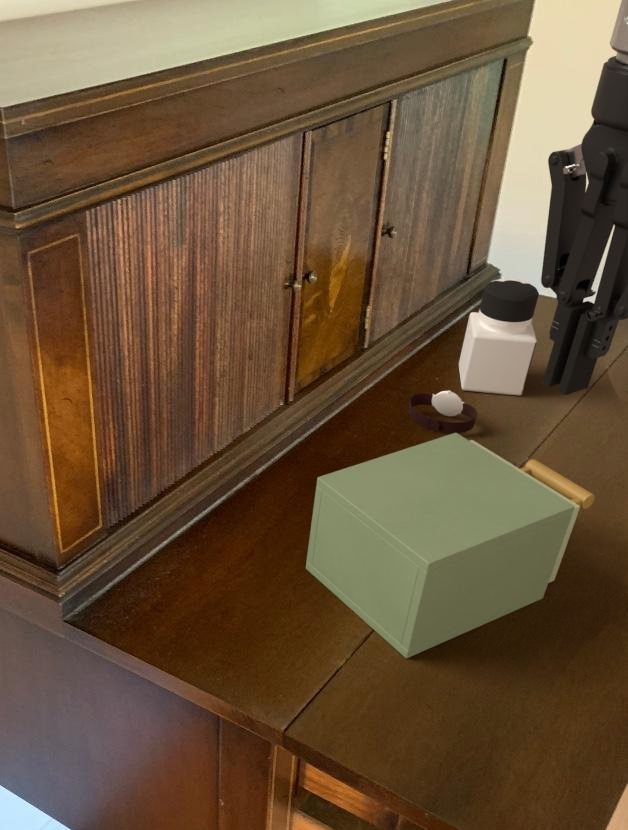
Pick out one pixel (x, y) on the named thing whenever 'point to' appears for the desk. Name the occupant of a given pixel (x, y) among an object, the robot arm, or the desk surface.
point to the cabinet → (434, 540)
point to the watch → (443, 411)
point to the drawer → (558, 487)
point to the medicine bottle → (500, 339)
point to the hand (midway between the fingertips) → (565, 385)
